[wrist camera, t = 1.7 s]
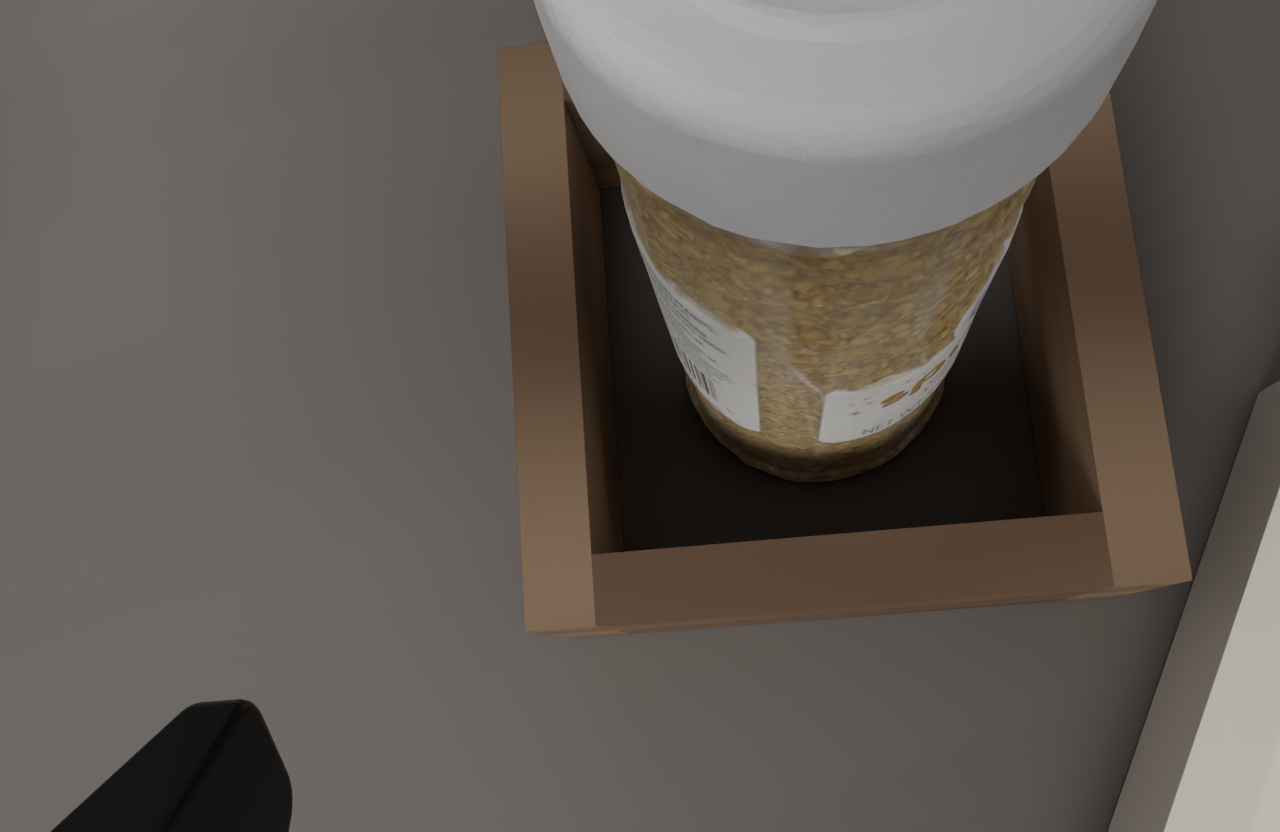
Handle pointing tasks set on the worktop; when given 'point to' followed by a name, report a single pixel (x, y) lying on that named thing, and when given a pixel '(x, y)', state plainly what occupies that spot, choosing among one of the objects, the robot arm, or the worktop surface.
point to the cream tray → (1221, 668)
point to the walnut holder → (850, 562)
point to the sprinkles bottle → (830, 190)
